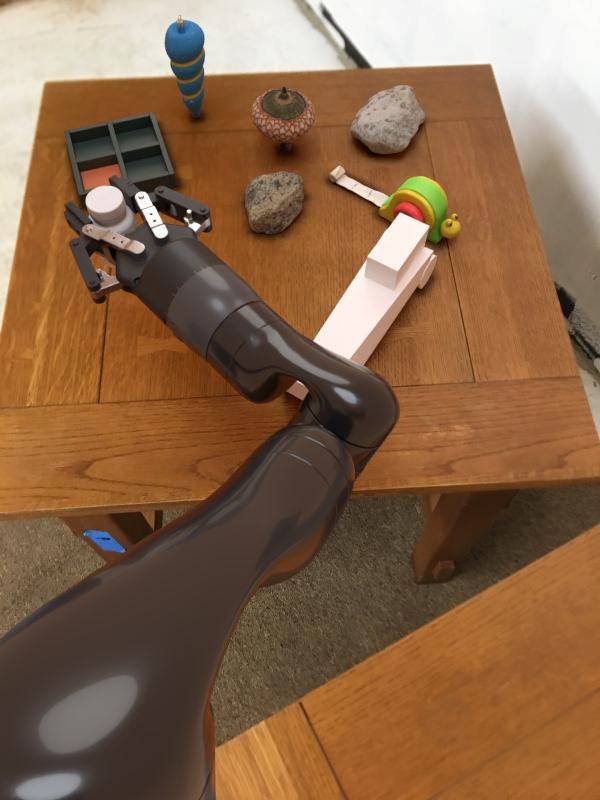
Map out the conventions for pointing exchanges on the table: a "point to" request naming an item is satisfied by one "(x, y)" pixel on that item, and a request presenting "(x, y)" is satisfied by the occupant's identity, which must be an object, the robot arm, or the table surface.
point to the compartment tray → (120, 154)
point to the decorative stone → (388, 120)
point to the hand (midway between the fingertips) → (92, 196)
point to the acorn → (283, 116)
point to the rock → (274, 201)
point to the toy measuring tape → (409, 203)
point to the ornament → (187, 61)
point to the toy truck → (377, 293)
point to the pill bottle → (110, 212)
